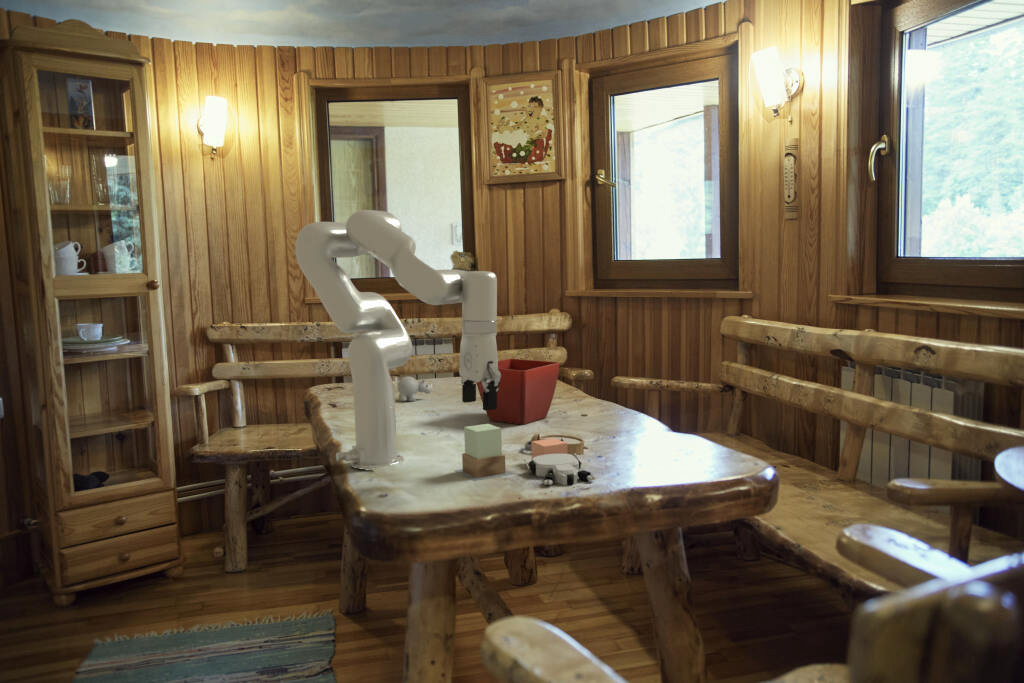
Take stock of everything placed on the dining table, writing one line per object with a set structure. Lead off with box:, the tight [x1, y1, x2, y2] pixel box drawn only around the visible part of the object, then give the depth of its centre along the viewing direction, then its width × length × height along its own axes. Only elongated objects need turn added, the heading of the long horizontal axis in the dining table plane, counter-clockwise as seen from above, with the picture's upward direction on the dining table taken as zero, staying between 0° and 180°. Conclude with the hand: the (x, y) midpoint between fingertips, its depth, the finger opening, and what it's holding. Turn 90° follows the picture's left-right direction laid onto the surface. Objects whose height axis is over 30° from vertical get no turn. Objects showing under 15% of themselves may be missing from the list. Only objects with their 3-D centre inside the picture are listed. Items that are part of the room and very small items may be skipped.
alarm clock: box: [524, 433, 589, 457], centre depth 194 cm, size 11×5×15 cm
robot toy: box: [523, 453, 596, 486], centre depth 170 cm, size 12×4×15 cm
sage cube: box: [463, 423, 503, 459], centre depth 174 cm, size 6×6×6 cm
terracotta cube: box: [530, 438, 568, 459], centre depth 181 cm, size 6×6×6 cm
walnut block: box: [461, 452, 506, 478], centre depth 174 cm, size 7×7×4 cm
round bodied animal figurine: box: [396, 376, 433, 402], centre depth 273 cm, size 7×12×8 cm, turn 101°
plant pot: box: [475, 358, 560, 426], centre depth 236 cm, size 19×19×17 cm
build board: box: [453, 468, 515, 482], centre depth 174 cm, size 10×10×1 cm
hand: (479, 405), depth 173 cm, fingers open, 9 cm apart
